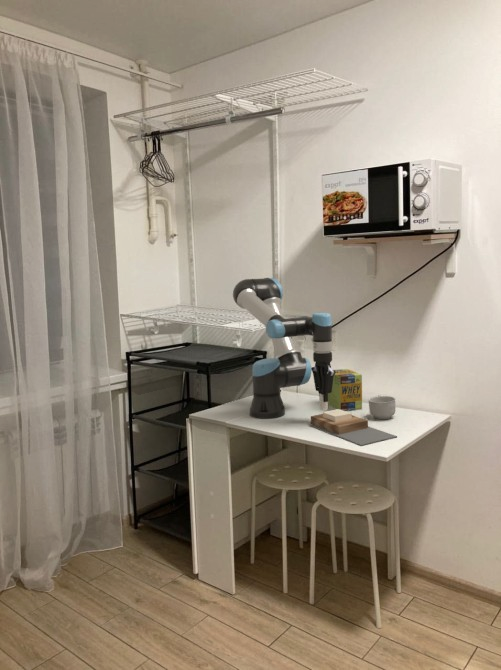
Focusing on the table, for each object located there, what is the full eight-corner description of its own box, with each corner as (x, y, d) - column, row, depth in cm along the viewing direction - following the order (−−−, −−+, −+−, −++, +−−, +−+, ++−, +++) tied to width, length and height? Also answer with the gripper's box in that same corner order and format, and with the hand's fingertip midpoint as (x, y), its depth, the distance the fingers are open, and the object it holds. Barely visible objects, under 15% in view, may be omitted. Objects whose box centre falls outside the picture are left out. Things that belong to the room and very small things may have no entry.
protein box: (340, 411, 248) (340, 376, 246) (326, 403, 263) (325, 370, 261) (362, 409, 251) (362, 374, 249) (347, 401, 266) (347, 368, 264)
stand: (310, 423, 231) (310, 416, 230) (338, 417, 238) (338, 410, 237) (339, 434, 215) (339, 426, 215) (368, 427, 222) (367, 420, 222)
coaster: (322, 417, 228) (322, 412, 228) (338, 413, 232) (338, 409, 232) (335, 421, 222) (335, 416, 221) (351, 418, 226) (351, 413, 225)
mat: (310, 426, 228) (310, 425, 228) (344, 419, 237) (344, 418, 237) (361, 446, 203) (361, 444, 203) (397, 437, 211) (397, 436, 211)
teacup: (395, 421, 231) (395, 402, 230) (367, 420, 234) (367, 401, 233) (396, 412, 244) (396, 394, 243) (370, 411, 247) (369, 393, 246)
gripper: (305, 350, 235) (306, 407, 238) (325, 354, 224) (326, 414, 227) (320, 349, 239) (321, 404, 242) (340, 352, 227) (341, 411, 230)
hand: (323, 409), depth 234 cm, fingers closed
